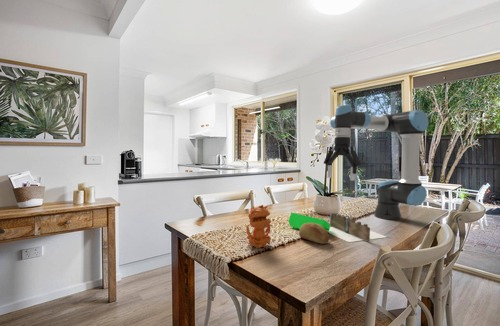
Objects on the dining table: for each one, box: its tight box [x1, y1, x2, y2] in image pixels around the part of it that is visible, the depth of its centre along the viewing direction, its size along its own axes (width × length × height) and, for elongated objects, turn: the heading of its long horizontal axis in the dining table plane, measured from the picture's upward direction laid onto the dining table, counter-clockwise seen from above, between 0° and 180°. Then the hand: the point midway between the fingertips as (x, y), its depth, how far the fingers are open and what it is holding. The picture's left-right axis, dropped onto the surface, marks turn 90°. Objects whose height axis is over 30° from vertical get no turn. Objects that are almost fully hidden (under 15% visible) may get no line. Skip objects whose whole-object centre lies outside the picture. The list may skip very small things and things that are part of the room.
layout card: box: [326, 226, 387, 243], centre depth 129 cm, size 23×23×1 cm
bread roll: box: [298, 223, 330, 245], centre depth 116 cm, size 10×15×8 cm, turn 40°
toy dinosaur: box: [245, 204, 272, 249], centre depth 108 cm, size 11×11×18 cm
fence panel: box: [349, 219, 371, 242], centre depth 121 cm, size 12×1×7 cm, turn 20°
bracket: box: [288, 212, 331, 231], centre depth 133 cm, size 20×10×7 cm, turn 44°
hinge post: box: [345, 216, 351, 233], centre depth 128 cm, size 2×2×8 cm
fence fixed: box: [329, 212, 347, 231], centre depth 135 cm, size 2×12×8 cm, turn 20°
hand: (340, 179), depth 129 cm, fingers open, 13 cm apart
